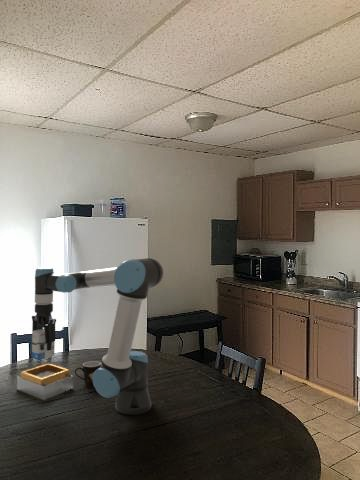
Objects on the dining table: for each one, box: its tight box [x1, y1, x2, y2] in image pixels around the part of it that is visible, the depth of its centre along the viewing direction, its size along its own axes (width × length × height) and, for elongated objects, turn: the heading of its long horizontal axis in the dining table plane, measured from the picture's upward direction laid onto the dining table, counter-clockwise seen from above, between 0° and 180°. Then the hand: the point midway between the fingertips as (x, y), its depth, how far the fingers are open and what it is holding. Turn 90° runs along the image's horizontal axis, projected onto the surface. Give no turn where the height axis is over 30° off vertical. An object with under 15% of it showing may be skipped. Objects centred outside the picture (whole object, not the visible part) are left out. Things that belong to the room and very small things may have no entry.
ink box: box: [31, 328, 56, 361], centre depth 173 cm, size 8×5×12 cm, turn 145°
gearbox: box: [16, 362, 74, 401], centre depth 186 cm, size 24×16×8 cm, turn 55°
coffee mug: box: [74, 360, 102, 388], centre depth 191 cm, size 12×9×10 cm
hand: (43, 355), depth 173 cm, fingers closed on ink box, 5 cm apart
